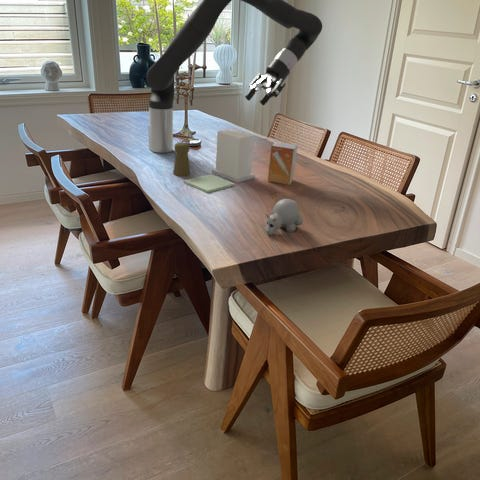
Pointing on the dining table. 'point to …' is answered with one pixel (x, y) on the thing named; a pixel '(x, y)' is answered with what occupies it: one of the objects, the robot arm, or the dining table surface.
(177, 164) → the cork
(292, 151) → the small box
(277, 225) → the round bodied animal figurine
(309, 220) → the dining table surface
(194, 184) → the plate
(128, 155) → the dining table surface
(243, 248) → the dining table surface
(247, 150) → the housing
